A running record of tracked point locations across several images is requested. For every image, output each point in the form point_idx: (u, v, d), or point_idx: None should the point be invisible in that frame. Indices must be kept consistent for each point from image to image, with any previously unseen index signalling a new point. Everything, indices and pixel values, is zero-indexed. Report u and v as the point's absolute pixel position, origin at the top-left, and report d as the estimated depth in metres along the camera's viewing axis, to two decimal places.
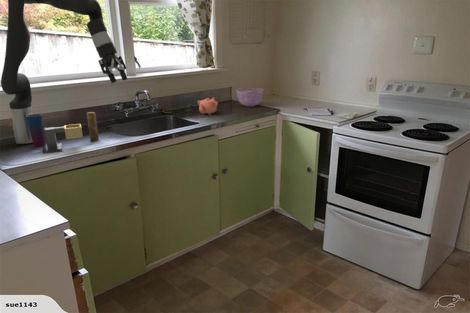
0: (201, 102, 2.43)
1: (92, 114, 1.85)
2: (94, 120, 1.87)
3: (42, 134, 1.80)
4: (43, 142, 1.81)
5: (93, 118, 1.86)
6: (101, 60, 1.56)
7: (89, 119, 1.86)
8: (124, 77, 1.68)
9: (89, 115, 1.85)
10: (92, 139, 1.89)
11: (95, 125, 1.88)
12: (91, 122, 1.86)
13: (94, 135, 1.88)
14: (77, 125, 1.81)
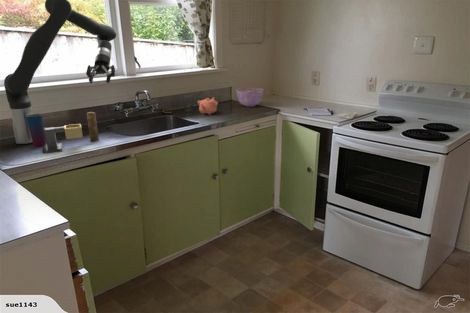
0: (201, 102, 2.43)
1: (92, 114, 1.85)
2: (94, 120, 1.87)
3: (42, 134, 1.80)
4: (43, 142, 1.81)
5: (93, 118, 1.86)
6: (114, 67, 2.02)
7: (89, 119, 1.86)
8: (92, 81, 1.98)
9: (89, 115, 1.85)
10: (92, 139, 1.89)
11: (95, 125, 1.88)
12: (91, 122, 1.86)
13: (94, 135, 1.88)
14: (77, 125, 1.81)
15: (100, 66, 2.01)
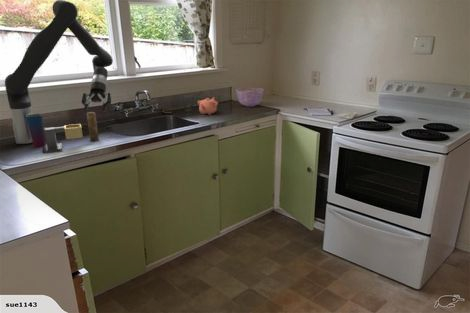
0: (201, 102, 2.43)
1: (92, 114, 1.85)
2: (94, 120, 1.87)
3: (42, 134, 1.80)
4: (43, 142, 1.81)
5: (93, 118, 1.86)
6: (110, 95, 1.97)
7: (89, 119, 1.86)
8: (87, 109, 1.93)
9: (89, 115, 1.85)
10: (92, 139, 1.89)
11: (95, 125, 1.88)
12: (91, 122, 1.86)
13: (94, 135, 1.88)
14: (77, 125, 1.81)
15: (96, 94, 1.96)
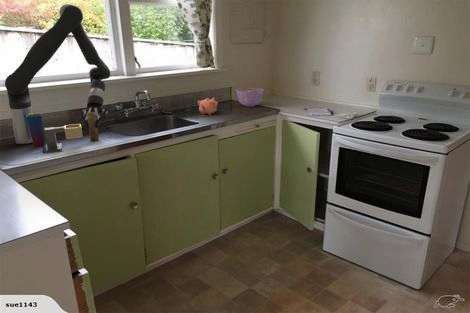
0: (201, 102, 2.43)
1: (92, 114, 1.85)
2: (94, 120, 1.87)
3: (42, 134, 1.80)
4: (43, 142, 1.81)
5: (93, 118, 1.86)
6: (107, 111, 1.91)
7: (89, 119, 1.86)
8: (88, 126, 1.87)
9: (89, 115, 1.85)
10: (92, 139, 1.89)
11: None
12: (91, 122, 1.86)
13: (94, 135, 1.88)
14: (77, 125, 1.81)
15: (93, 108, 1.90)
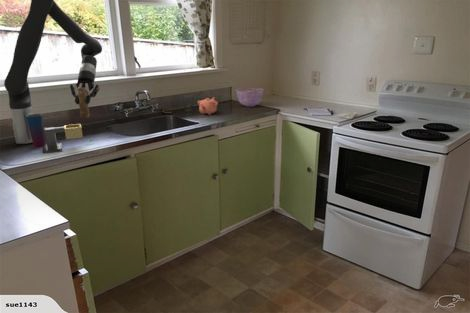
0: (201, 102, 2.43)
1: (83, 89, 1.78)
2: (85, 96, 1.80)
3: (42, 134, 1.80)
4: (43, 142, 1.81)
5: (83, 93, 1.79)
6: (98, 88, 1.85)
7: (80, 94, 1.79)
8: (78, 102, 1.80)
9: (80, 90, 1.78)
10: (82, 116, 1.82)
11: None
12: (82, 98, 1.79)
13: (84, 111, 1.81)
14: (77, 125, 1.81)
15: (84, 84, 1.84)
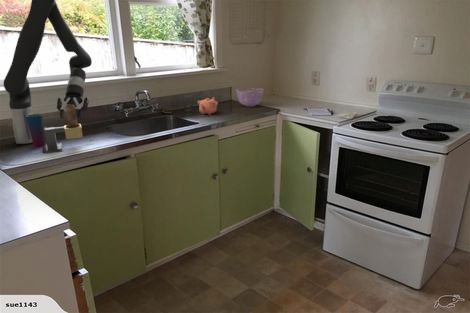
0: (201, 102, 2.43)
1: (71, 106, 1.73)
2: (73, 113, 1.75)
3: (42, 134, 1.80)
4: (43, 142, 1.81)
5: (72, 110, 1.74)
6: (88, 100, 1.79)
7: (68, 111, 1.74)
8: (63, 116, 1.75)
9: (68, 107, 1.73)
10: None
11: (74, 118, 1.76)
12: (70, 115, 1.74)
13: None
14: None
15: (72, 98, 1.78)
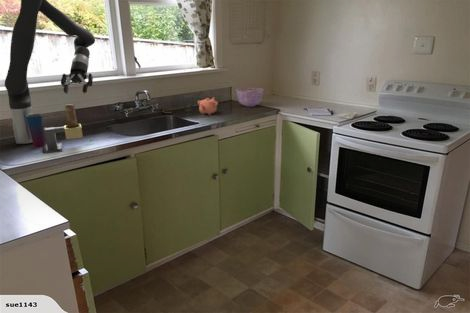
0: (201, 102, 2.43)
1: (71, 106, 1.73)
2: (73, 113, 1.74)
3: (42, 134, 1.80)
4: (43, 142, 1.81)
5: (71, 110, 1.74)
6: (92, 76, 1.86)
7: (67, 112, 1.73)
8: (67, 91, 1.81)
9: (67, 107, 1.73)
10: None
11: (74, 118, 1.75)
12: (70, 115, 1.74)
13: None
14: (77, 125, 1.81)
15: (76, 74, 1.84)
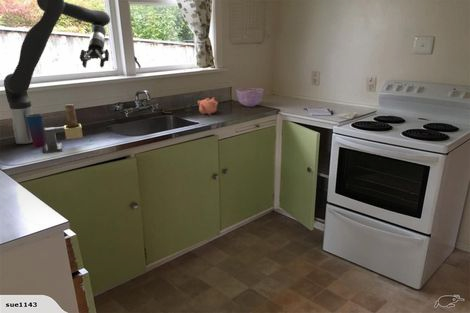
0: (201, 102, 2.43)
1: (71, 106, 1.73)
2: (73, 113, 1.74)
3: (42, 134, 1.80)
4: (43, 142, 1.81)
5: (71, 110, 1.74)
6: (108, 52, 2.01)
7: (67, 112, 1.73)
8: (85, 65, 1.97)
9: (67, 107, 1.73)
10: None
11: (74, 118, 1.75)
12: (70, 115, 1.74)
13: None
14: (77, 125, 1.81)
15: (94, 50, 1.99)
